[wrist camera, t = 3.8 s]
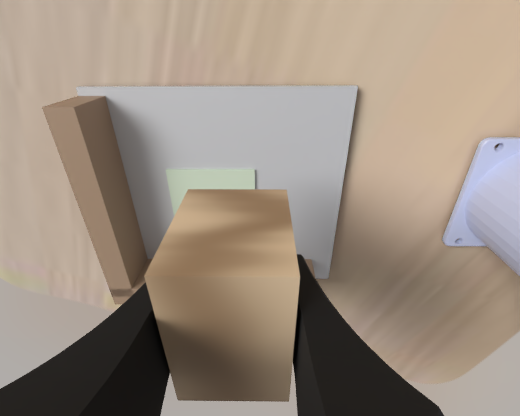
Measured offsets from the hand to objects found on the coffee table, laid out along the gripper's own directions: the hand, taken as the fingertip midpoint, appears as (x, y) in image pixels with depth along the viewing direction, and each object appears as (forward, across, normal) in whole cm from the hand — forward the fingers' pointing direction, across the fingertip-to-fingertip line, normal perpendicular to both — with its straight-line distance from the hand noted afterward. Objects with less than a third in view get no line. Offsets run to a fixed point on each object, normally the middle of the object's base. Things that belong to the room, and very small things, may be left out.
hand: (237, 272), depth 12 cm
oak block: (+2, 0, 0) cm, 2 cm away
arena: (+8, +2, +1) cm, 9 cm away
